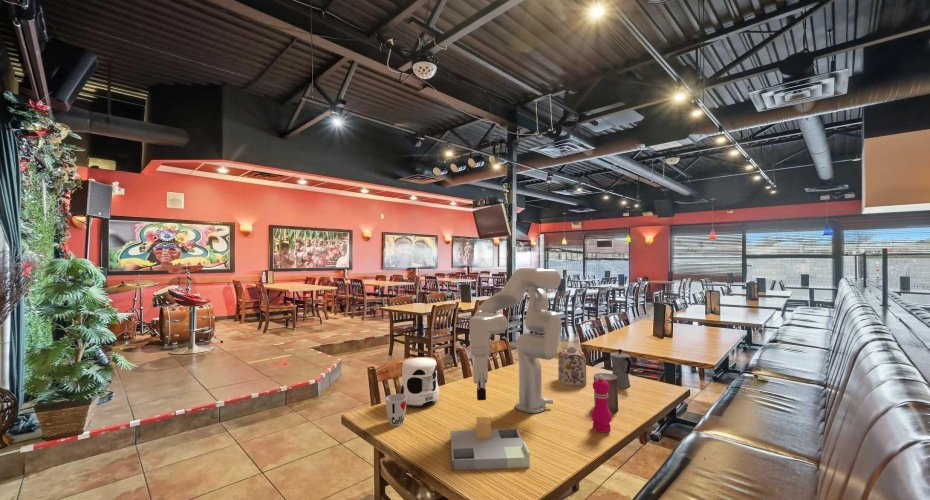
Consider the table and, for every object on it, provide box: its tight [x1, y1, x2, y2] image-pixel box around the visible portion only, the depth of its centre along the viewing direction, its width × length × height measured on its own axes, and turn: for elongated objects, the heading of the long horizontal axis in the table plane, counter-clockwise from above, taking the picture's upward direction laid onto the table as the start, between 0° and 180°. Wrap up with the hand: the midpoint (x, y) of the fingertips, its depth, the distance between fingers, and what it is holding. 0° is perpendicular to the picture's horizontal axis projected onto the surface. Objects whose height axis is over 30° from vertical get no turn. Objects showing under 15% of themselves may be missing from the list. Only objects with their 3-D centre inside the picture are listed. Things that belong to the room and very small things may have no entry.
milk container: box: [399, 357, 440, 408], centre depth 172 cm, size 17×17×18 cm
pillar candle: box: [593, 372, 619, 413], centre depth 164 cm, size 10×10×15 cm
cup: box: [385, 393, 407, 427], centre depth 150 cm, size 8×8×10 cm
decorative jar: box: [557, 346, 587, 387], centre depth 198 cm, size 12×12×18 cm
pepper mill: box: [591, 375, 613, 433], centre depth 144 cm, size 7×7×20 cm
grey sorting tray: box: [450, 428, 531, 471], centre depth 128 cm, size 24×20×4 cm
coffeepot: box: [610, 348, 632, 389], centre depth 192 cm, size 15×9×18 cm, turn 9°
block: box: [475, 416, 492, 438], centre depth 134 cm, size 5×5×5 cm
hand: (481, 399), depth 142 cm, fingers closed
